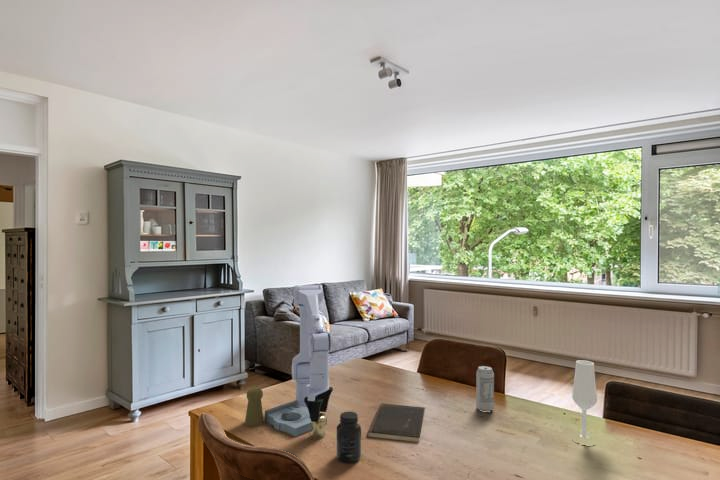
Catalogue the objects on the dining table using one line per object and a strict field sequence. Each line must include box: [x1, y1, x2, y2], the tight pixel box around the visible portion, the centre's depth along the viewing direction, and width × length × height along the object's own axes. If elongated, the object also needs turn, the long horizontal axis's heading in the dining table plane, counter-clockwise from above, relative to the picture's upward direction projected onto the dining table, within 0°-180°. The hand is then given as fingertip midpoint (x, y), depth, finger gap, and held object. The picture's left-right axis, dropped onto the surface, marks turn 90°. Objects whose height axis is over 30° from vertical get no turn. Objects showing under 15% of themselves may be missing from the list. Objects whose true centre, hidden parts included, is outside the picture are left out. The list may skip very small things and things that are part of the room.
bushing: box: [311, 412, 328, 440], centre depth 133 cm, size 5×5×6 cm
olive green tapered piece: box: [244, 387, 265, 428], centre depth 142 cm, size 6×6×11 cm
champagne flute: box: [571, 359, 598, 438], centre depth 131 cm, size 7×7×24 cm
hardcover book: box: [366, 403, 426, 443], centre depth 142 cm, size 16×23×2 cm
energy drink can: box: [475, 365, 495, 411], centre depth 154 cm, size 6×6×15 cm
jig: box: [264, 399, 328, 437], centre depth 142 cm, size 14×16×4 cm
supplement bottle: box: [336, 411, 362, 464], centre depth 120 cm, size 7×7×12 cm
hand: (318, 416), depth 133 cm, fingers open, 7 cm apart
